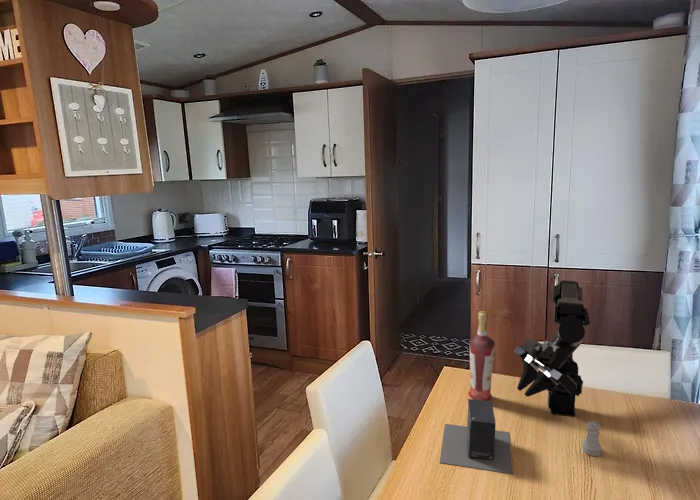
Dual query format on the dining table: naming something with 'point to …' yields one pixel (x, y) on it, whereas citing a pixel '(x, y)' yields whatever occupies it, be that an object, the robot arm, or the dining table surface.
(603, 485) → the dining table surface
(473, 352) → the liquor
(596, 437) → the rook chess piece
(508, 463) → the mat
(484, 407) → the small box
